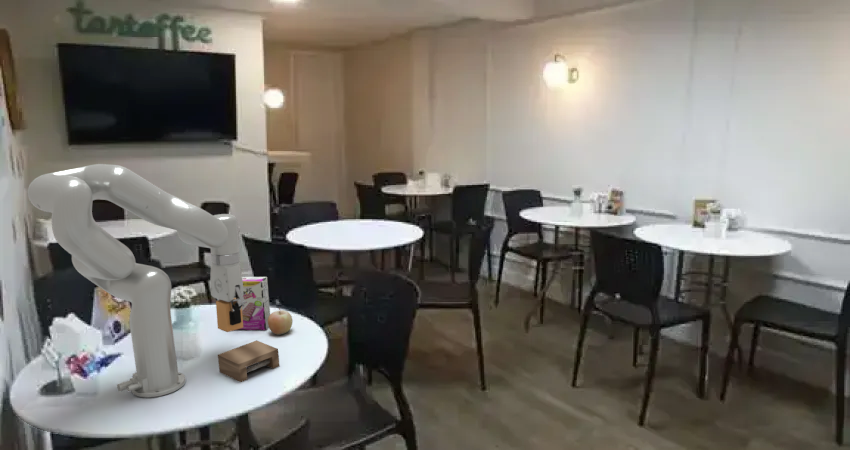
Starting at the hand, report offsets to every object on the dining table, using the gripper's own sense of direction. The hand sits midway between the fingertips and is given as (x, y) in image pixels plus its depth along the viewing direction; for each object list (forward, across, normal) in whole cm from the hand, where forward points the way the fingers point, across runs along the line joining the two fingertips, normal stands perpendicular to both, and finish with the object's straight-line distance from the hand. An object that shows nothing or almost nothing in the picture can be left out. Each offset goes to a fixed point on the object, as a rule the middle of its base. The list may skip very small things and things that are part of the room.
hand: (230, 321), depth 172 cm
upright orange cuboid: (+2, 0, 0) cm, 2 cm away
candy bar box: (+9, -13, +15) cm, 22 cm away
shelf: (+10, +13, -3) cm, 16 cm away
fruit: (+9, -2, +18) cm, 21 cm away
